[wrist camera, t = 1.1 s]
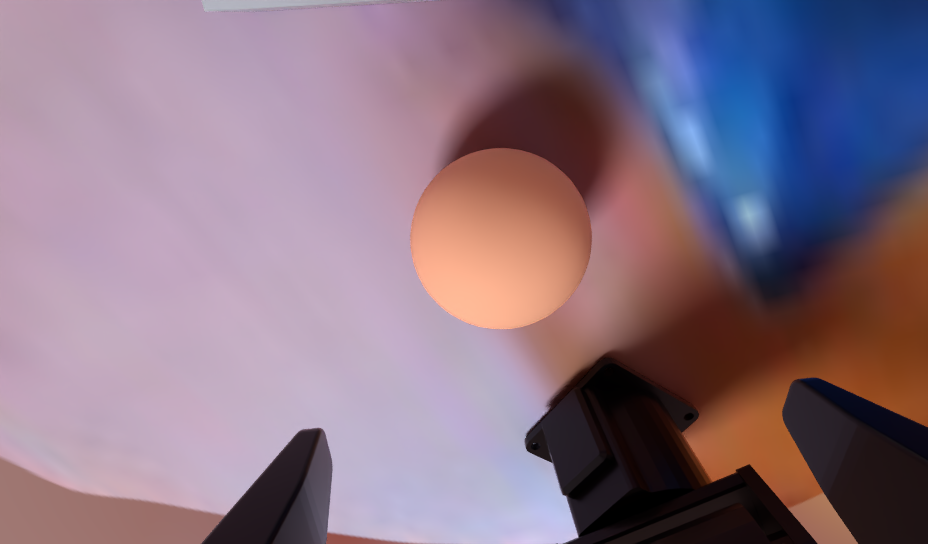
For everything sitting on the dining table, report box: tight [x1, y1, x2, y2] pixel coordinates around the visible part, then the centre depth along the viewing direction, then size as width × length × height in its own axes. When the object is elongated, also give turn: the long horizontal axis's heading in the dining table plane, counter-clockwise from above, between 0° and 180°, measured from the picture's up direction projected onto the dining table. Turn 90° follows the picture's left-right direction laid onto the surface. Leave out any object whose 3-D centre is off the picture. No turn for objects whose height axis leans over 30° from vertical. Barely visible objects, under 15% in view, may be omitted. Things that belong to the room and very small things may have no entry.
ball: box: [410, 148, 592, 329], centre depth 17 cm, size 6×6×6 cm
